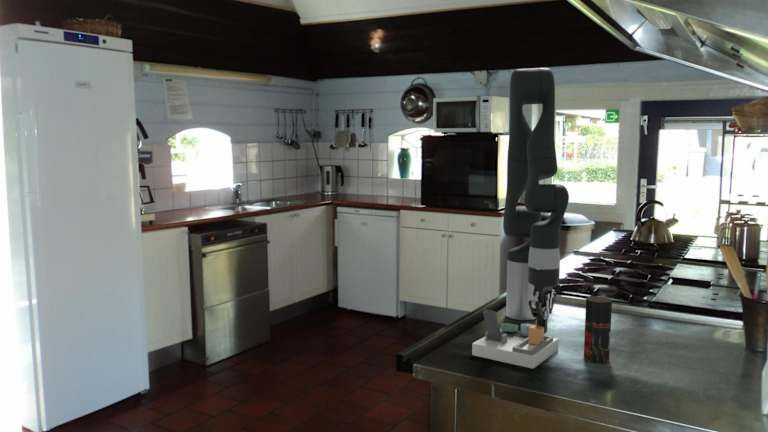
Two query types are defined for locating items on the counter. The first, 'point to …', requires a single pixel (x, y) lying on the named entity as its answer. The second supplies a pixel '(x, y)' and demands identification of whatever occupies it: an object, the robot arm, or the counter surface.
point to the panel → (515, 349)
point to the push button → (525, 329)
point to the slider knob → (536, 334)
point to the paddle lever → (492, 325)
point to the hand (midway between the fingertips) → (541, 332)
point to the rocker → (509, 327)
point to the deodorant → (597, 329)
